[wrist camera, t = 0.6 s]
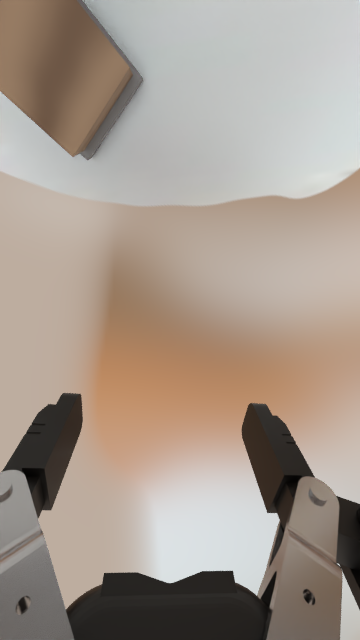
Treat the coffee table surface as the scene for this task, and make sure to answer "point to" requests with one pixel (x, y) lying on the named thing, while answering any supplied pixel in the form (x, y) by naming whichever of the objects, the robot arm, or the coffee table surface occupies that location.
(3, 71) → the walnut block
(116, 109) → the charcoal slab
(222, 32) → the coffee table surface
